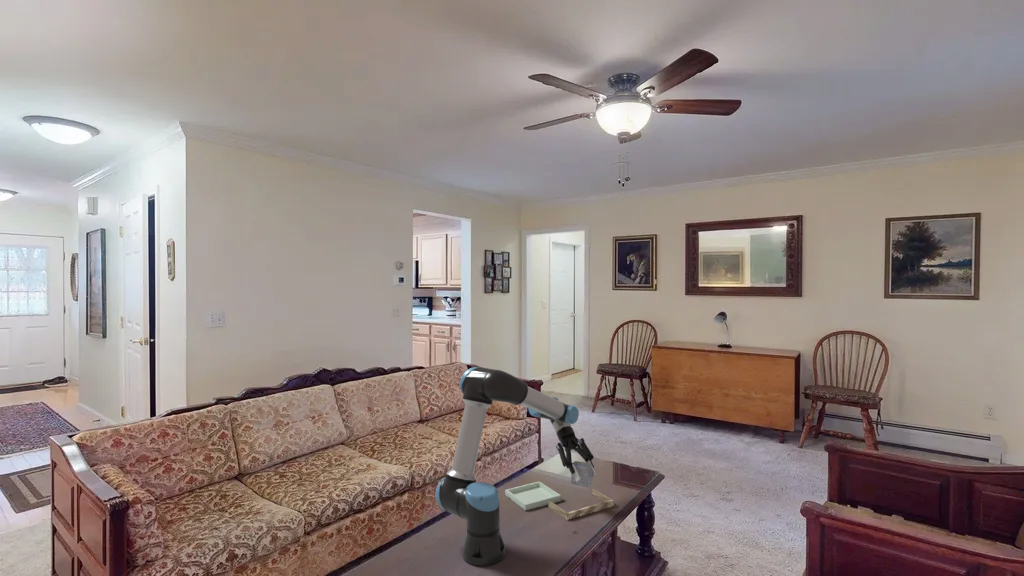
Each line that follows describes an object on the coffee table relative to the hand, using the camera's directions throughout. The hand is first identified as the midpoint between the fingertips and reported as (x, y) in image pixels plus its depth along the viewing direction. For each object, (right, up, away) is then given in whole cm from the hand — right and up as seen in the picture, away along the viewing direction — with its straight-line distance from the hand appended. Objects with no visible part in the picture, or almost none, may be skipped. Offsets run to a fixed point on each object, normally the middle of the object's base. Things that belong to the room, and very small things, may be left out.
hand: (586, 478), depth 206 cm
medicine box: (-2, -4, +3) cm, 5 cm away
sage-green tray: (-22, -14, +13) cm, 29 cm away
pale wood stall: (-1, -13, +3) cm, 14 cm away
